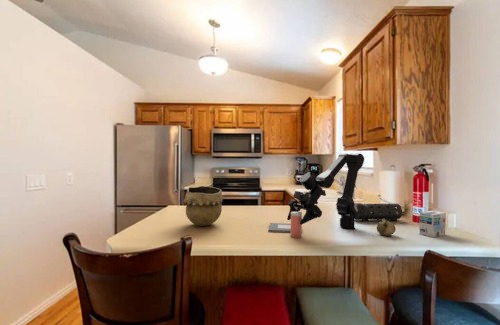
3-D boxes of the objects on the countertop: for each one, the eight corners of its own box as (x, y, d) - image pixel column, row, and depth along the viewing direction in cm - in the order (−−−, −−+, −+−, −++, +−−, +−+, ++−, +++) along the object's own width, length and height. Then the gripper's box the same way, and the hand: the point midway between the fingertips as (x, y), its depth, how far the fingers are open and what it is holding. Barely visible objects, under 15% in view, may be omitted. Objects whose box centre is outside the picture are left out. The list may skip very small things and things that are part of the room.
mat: (299, 225, 141) (299, 223, 141) (301, 233, 128) (301, 231, 128) (269, 224, 143) (269, 222, 143) (268, 231, 130) (268, 229, 130)
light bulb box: (433, 237, 123) (433, 214, 123) (418, 234, 129) (418, 211, 129) (446, 235, 128) (446, 212, 128) (431, 231, 134) (431, 210, 134)
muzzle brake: (402, 222, 153) (402, 204, 152) (355, 222, 150) (355, 204, 150) (392, 218, 162) (392, 201, 162) (347, 219, 160) (348, 202, 160)
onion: (396, 238, 121) (397, 220, 121) (377, 236, 124) (377, 219, 124) (394, 234, 128) (394, 217, 128) (375, 232, 131) (376, 216, 131)
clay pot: (231, 227, 138) (231, 188, 137) (192, 233, 126) (192, 191, 125) (213, 219, 155) (213, 184, 155) (177, 223, 143) (177, 186, 143)
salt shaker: (301, 235, 125) (301, 211, 124) (301, 238, 120) (302, 213, 120) (290, 234, 125) (290, 211, 125) (290, 237, 120) (290, 213, 120)
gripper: (291, 183, 132) (272, 207, 127) (317, 187, 116) (297, 214, 111) (303, 198, 136) (285, 221, 131) (330, 203, 120) (311, 231, 115)
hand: (293, 221), depth 122 cm, fingers open, 9 cm apart
